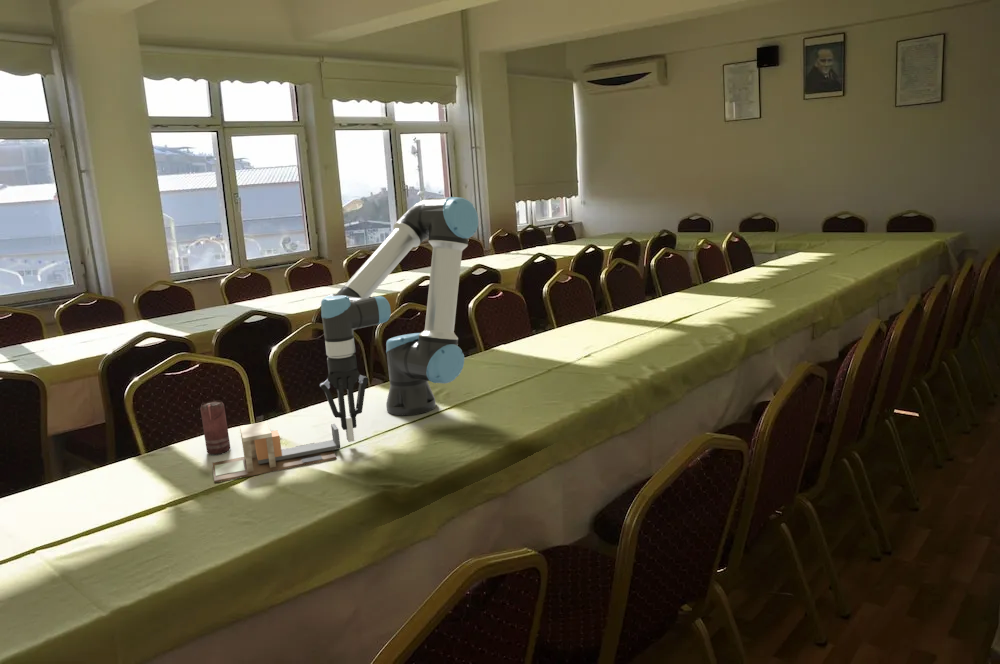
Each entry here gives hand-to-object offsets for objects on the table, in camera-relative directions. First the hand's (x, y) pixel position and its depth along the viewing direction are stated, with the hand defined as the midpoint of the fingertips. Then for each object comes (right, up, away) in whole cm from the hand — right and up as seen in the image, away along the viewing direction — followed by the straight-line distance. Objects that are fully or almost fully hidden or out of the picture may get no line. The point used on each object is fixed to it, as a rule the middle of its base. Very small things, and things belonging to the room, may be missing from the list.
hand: (350, 439), depth 210 cm
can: (-37, -4, +4) cm, 38 cm away
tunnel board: (-19, -5, -7) cm, 20 cm away
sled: (-13, -3, -5) cm, 14 cm away
